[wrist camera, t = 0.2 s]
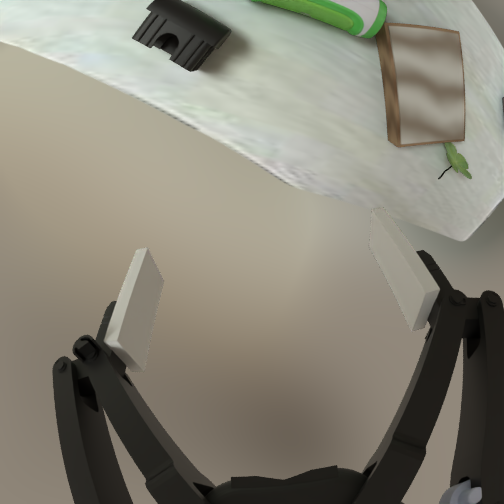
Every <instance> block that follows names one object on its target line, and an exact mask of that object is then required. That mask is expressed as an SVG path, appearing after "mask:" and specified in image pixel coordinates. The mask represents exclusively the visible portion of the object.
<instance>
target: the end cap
mask: <svg viewBox="0 0 504 504" xmlns="http://www.w3.org/2000/svg"><path fill="white" fill-rule="evenodd" d="M147 10H149V11H151V13H150V14H149V15H148V17H147V18H146V19H145V20H144V22H143V23H142V24H141V26H140V27H139V29H138V30H137V31H136V33H135V34H134V36H133V37H132V39H134V40H136V41H138V42H140V43H142V44H143V45H145V46H147V47H149V48H152V46H155V47H157V48H159V49H162V50H164V51H166V52H167V53H169V54H171V55H172V56H171V57H170V60H171V61H173V62H175V63H176V64H178V65H180V66H181V67H183V68H185V69H186V70H188V71H190V72H192V71H195V70H198V68H199V67H200V66H201V65H202V63H203V62H204V61H205V60H206V58H207V57H208V56H209V55H210V54H211V52H212V51H213V50H214V49H215V48H216V49H218V48H219V47H220V46H221V45H222V44H223V42H224V41H225V40H226V39H227V37H228V36H229V34H230V33H231V30H230V29H229V28H227V27H226V26H224V25H223V24H221V23H219V22H218V21H216V20H214V19H213V18H211V17H210V16H208V15H206V14H204V13H203V12H201V11H199V10H197V9H196V8H194V7H192V6H190V5H188V4H187V3H185V2H183V1H181V0H154V1H153V2H152V3H151V4H150V5H149V6H148V7H147Z"/></svg>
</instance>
